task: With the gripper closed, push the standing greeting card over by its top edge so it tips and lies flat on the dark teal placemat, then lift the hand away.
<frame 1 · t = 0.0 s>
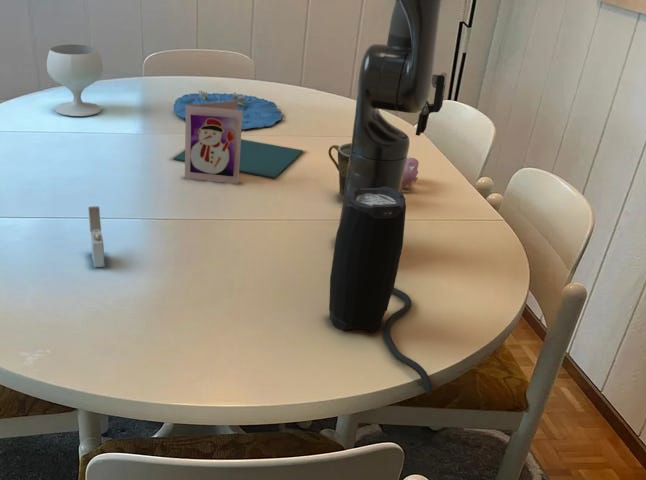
hand: (394, 130, 127), 17 cm above the table, tool pointing down, fingers open, 8 cm apart
decorative plate: (229, 114, 191), on the table
ceramic cup: (349, 198, 146), on the table
greeting card: (213, 177, 152), on the table
portable speaker: (355, 321, 106), on the table
lighter: (97, 258, 119), on the table
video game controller: (400, 186, 153), on the table
placemat: (239, 155, 163), on the table
chalice: (78, 111, 187), on the table
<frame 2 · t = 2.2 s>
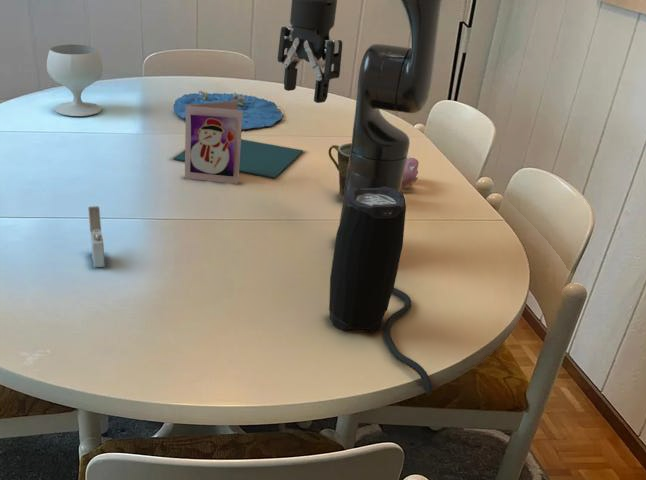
hand: (304, 95, 128), 21 cm above the table, tool pointing down, fingers open, 8 cm apart
nothing on the table moved.
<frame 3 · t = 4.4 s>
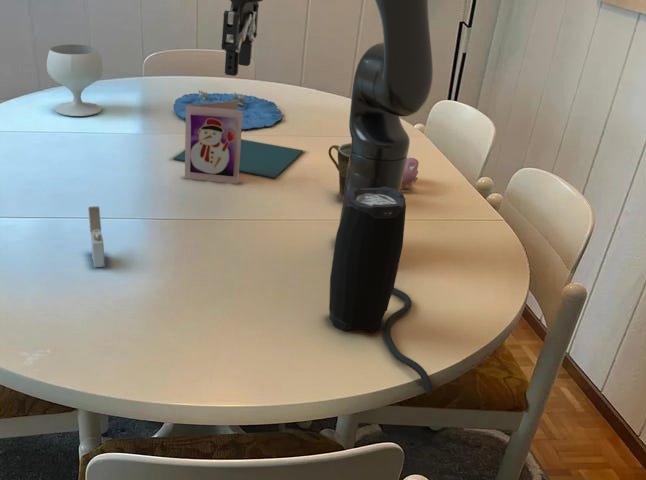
hand: (237, 70, 128), 24 cm above the table, tool pointing down, fingers open, 8 cm apart
nothing on the table moved.
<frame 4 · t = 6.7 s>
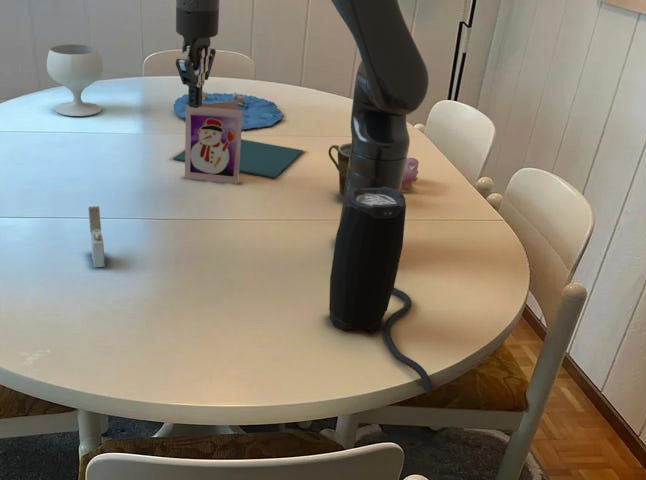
hand: (194, 106, 134), 17 cm above the table, tool pointing down, fingers closed
nothing on the table moved.
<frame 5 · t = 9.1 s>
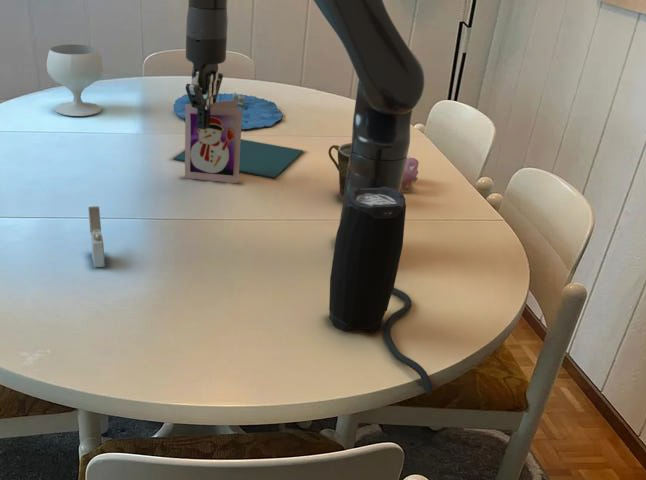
hand: (203, 127, 141), 12 cm above the table, tool pointing down, fingers closed
greeting card: (213, 177, 152), on the table, touching gripper
everything else where it was.
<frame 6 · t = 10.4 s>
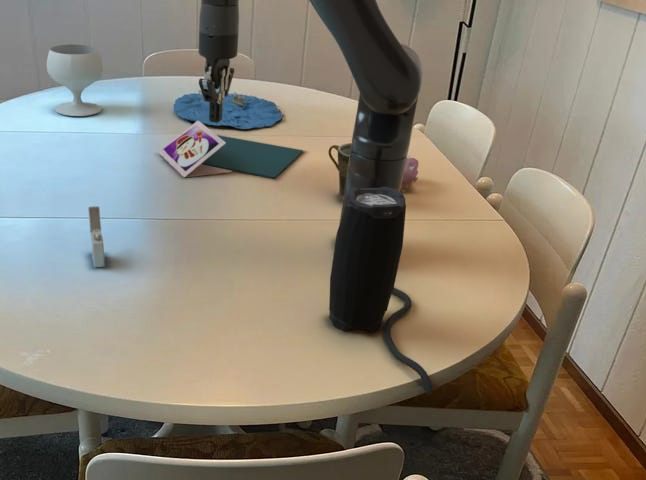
hand: (215, 121, 145), 12 cm above the table, tool pointing down, fingers closed
greeting card: (211, 170, 152), point 1 cm above the table, touching placemat
everything else where it was.
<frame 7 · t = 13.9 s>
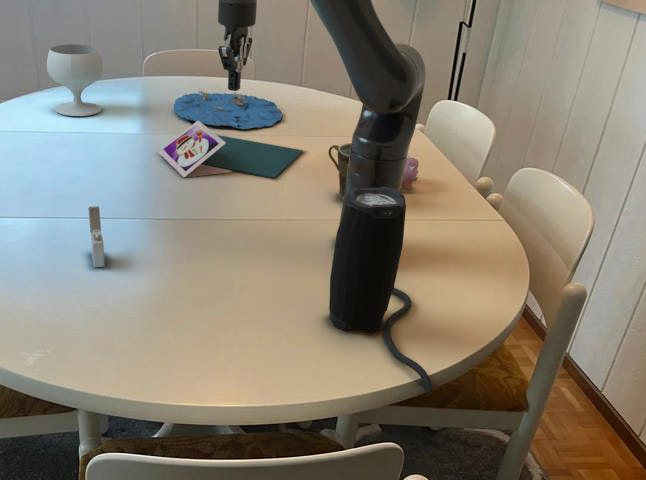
hand: (233, 89, 149), 16 cm above the table, tool pointing down, fingers closed
nothing on the table moved.
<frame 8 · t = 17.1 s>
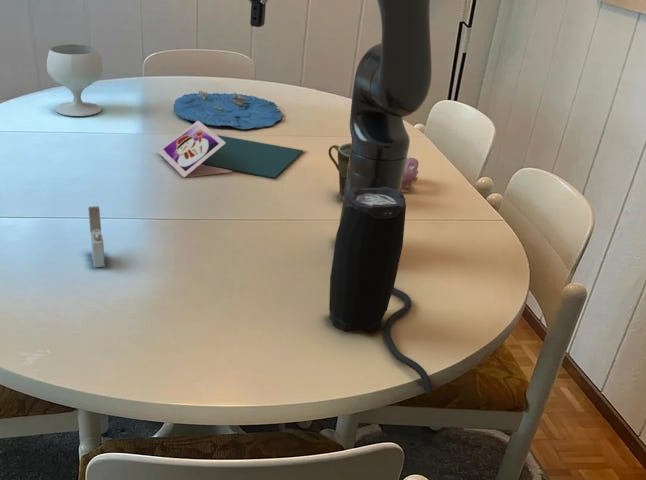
hand: (257, 26, 128), 31 cm above the table, tool pointing down, fingers closed
nothing on the table moved.
at the end: greeting card tilted 88°; greeting card touching placemat, table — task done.
